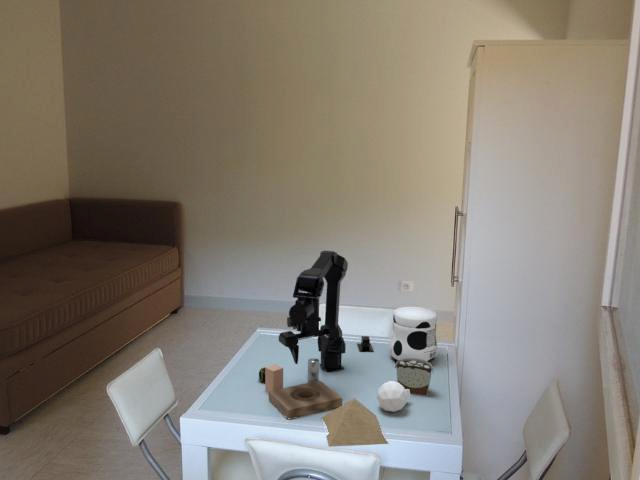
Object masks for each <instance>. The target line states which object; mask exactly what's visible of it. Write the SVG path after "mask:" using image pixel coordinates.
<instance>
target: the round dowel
mask: <svg viewBox="0 0 640 480" xmlns="http://www.w3.org/2000/svg"><path fill="white" fill-rule="evenodd" d="M319 377H320V360H319V358H309V359H308V360H307V383H311V382H316V381H320V380H319V379H320V378H319Z"/></svg>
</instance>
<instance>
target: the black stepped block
mask: <svg viewBox="0 0 640 480" xmlns="http://www.w3.org/2000/svg"><path fill="white" fill-rule="evenodd" d="M356 346H357V348H358V349H357V350H358V352H359V353H374V352H375V351H374V347H373V345H372V343H371V340H370V336H369V335H368V336H367V335H362V336H361V338H360V343H358V342H357V343H356Z"/></svg>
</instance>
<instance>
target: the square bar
mask: <svg viewBox="0 0 640 480" xmlns="http://www.w3.org/2000/svg"><path fill="white" fill-rule="evenodd" d="M264 367H265V366H264ZM264 383H265V384H264V385H265V389H264V390H265V392H266V393H268V394H269V391H271V390H276V389H281V388H284V367H282V366H280V365H277V364H272V365H270V366H266V367H265V382H264Z"/></svg>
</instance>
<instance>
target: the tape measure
mask: <svg viewBox="0 0 640 480" xmlns="http://www.w3.org/2000/svg"><path fill="white" fill-rule="evenodd" d="M258 378H259V380H260V381H262V382H263V383H265V366H264V367H262V368H260V369H259V371H258Z"/></svg>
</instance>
